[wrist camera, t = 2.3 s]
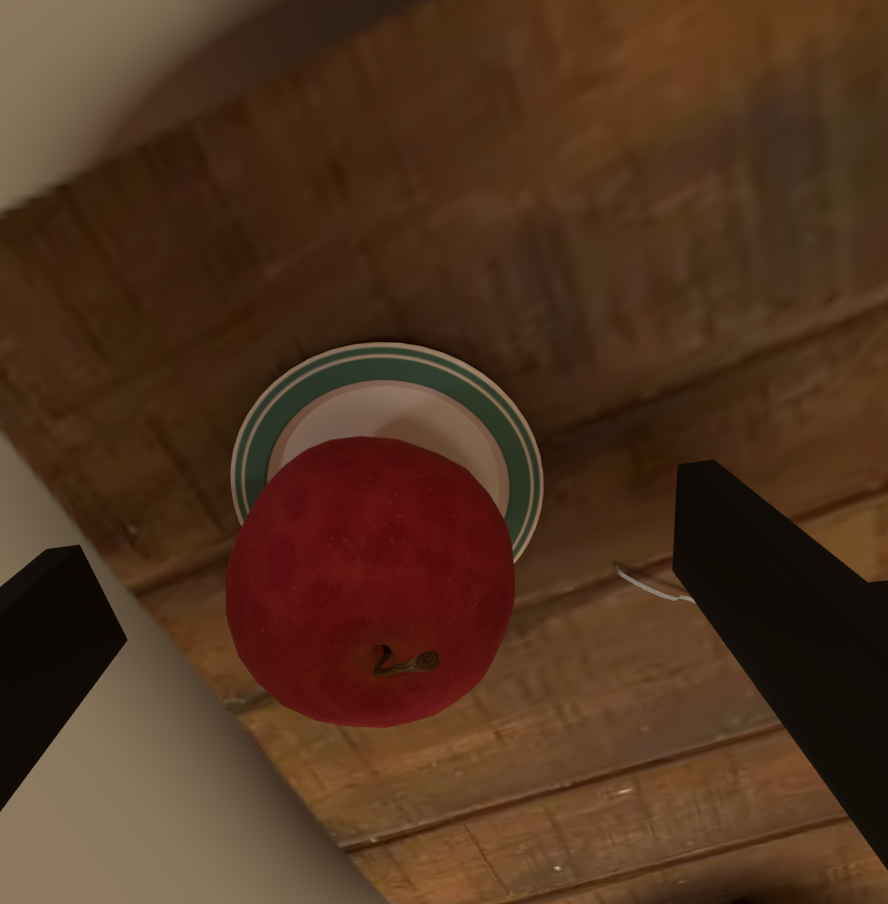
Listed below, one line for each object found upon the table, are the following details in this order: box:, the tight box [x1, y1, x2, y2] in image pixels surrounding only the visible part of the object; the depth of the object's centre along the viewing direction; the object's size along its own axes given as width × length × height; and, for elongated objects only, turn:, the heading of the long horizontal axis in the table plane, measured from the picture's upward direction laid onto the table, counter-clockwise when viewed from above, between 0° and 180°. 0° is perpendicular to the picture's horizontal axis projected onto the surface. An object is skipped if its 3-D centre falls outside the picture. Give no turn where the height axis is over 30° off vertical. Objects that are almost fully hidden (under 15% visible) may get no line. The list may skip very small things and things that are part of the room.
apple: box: [226, 342, 544, 728], centre depth 11 cm, size 8×8×6 cm
